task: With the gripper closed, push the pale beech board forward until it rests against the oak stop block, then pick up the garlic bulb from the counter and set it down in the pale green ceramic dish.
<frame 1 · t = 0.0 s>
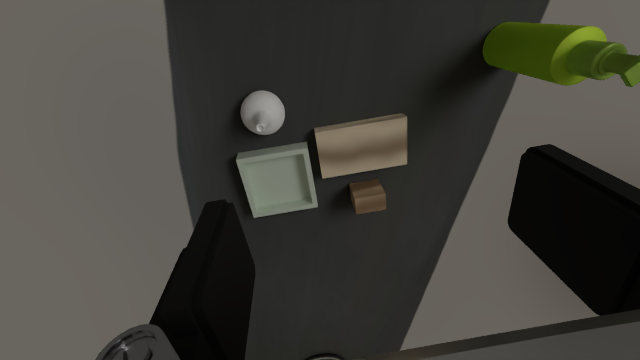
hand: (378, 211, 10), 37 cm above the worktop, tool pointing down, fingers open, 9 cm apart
board: (359, 143, 49), on the worktop
soap dispenser: (504, 41, 43), on the worktop
garlic bulb: (263, 109, 45), on the worktop
dish: (279, 177, 50), on the worktop
stop block: (364, 188, 53), on the worktop
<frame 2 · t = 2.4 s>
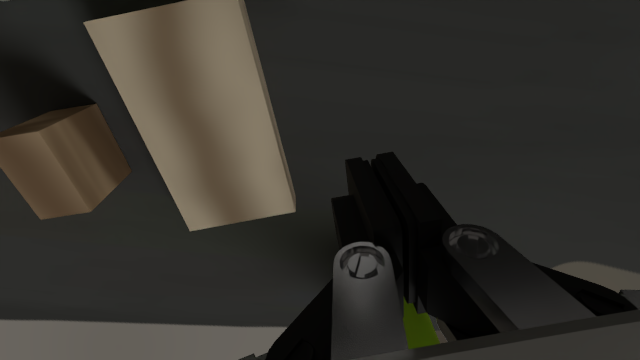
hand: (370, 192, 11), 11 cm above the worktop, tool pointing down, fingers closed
board: (217, 120, 21), on the worktop
soap dispenser: (395, 304, 31), on the worktop
stop block: (93, 142, 21), on the worktop
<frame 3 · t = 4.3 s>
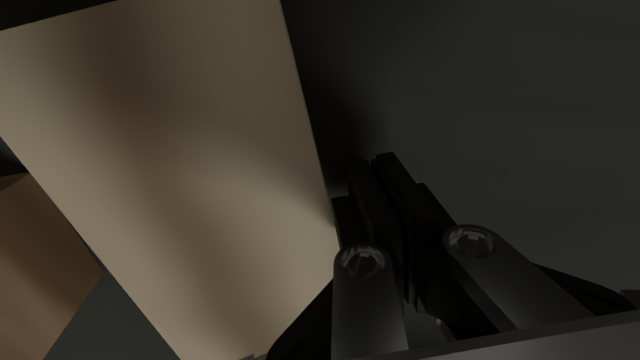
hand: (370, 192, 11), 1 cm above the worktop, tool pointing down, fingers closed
board: (229, 198, 12), on the worktop, touching gripper
stop block: (34, 233, 12), on the worktop
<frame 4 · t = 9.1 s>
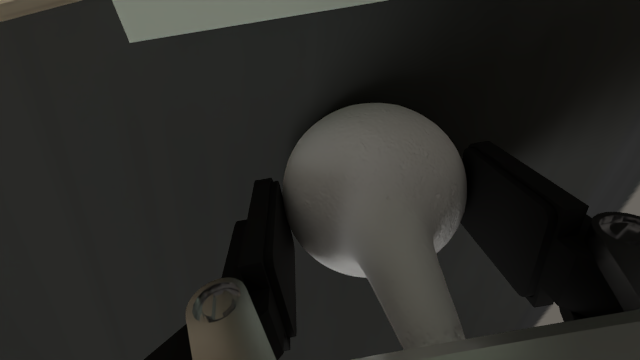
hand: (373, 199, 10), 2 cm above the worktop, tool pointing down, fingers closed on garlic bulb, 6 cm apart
garlic bulb: (361, 172, 12), on the worktop, touching gripper
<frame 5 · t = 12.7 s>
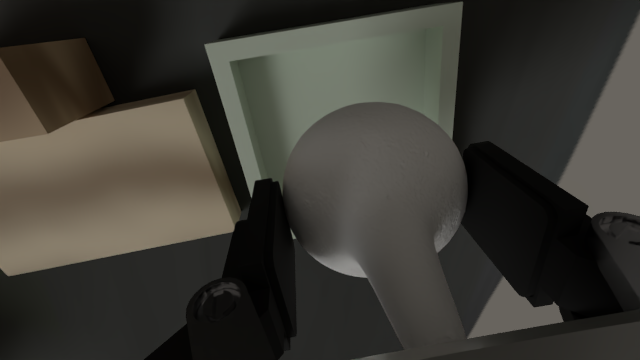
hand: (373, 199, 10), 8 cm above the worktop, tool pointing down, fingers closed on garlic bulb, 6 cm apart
board: (109, 176, 18), on the worktop
garlic bulb: (361, 171, 12), point 6 cm above the worktop, touching gripper
dish: (339, 127, 18), on the worktop
stop block: (50, 79, 15), on the worktop
when the fingers open (3 cm above the worktop, at t = 14.0 s): garlic bulb drops 1 cm, resting on dish.
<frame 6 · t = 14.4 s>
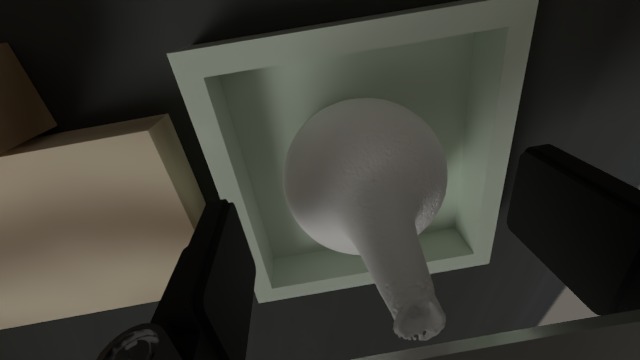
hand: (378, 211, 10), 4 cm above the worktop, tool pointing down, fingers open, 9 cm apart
board: (61, 217, 14), on the worktop
garlic bulb: (355, 161, 13), resting on dish
dish: (354, 156, 14), on the worktop
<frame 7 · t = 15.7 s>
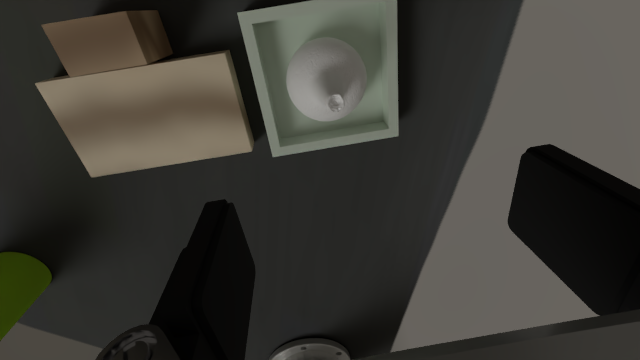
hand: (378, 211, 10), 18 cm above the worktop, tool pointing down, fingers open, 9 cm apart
board: (163, 111, 26), on the worktop
soap dispenser: (20, 273, 33), on the worktop
garlic bulb: (324, 77, 25), resting on dish
dish: (324, 75, 25), on the worktop
stop block: (133, 38, 23), on the worktop
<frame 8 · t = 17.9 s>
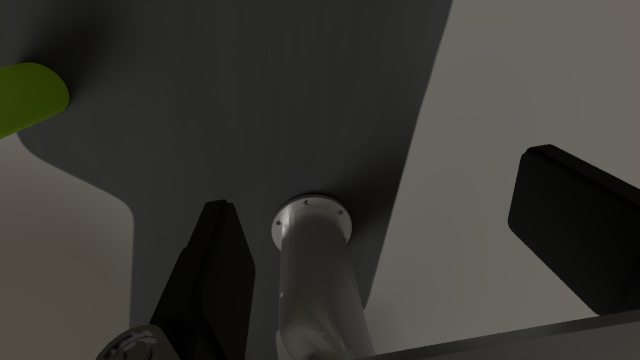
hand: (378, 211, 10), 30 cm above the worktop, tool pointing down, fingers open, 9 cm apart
soap dispenser: (40, 92, 35), on the worktop
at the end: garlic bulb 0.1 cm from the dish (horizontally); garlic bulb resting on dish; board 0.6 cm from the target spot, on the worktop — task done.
